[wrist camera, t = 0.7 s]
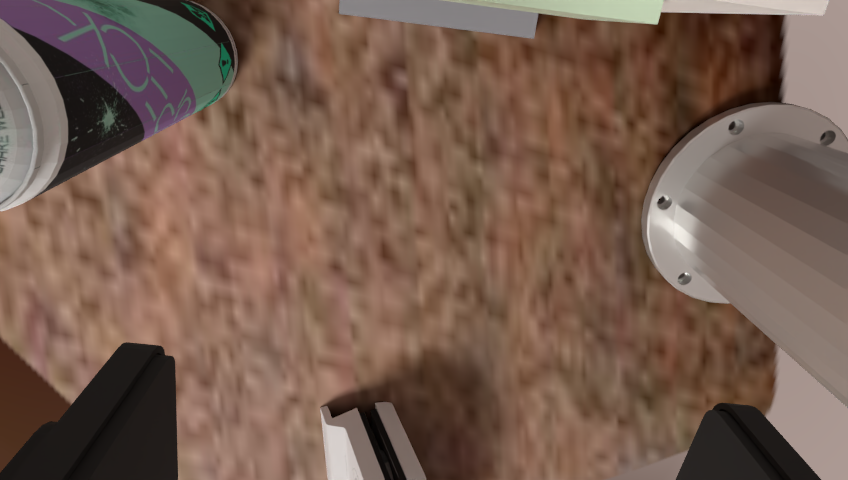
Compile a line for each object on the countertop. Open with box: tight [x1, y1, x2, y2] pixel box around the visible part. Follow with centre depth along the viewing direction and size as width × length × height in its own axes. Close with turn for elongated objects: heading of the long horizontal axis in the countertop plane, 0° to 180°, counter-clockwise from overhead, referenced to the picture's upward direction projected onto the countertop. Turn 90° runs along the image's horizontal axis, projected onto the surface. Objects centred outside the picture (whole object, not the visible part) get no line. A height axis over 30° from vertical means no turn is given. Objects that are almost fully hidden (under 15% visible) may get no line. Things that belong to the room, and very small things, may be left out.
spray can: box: [0, 0, 238, 211], centre depth 20 cm, size 6×6×20 cm
